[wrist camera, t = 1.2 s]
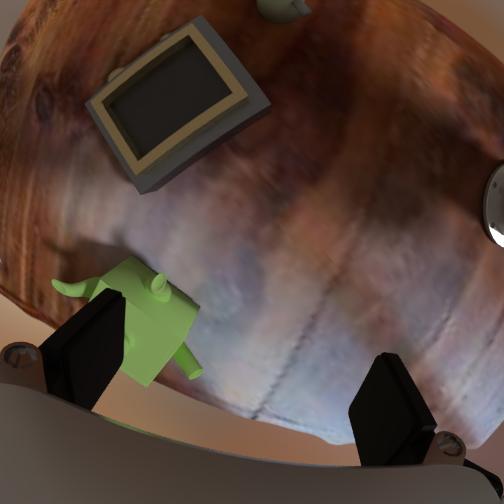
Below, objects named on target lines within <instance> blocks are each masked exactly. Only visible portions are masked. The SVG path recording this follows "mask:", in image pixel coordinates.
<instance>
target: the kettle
mask: <svg viewBox="0 0 504 504" xmlns="http://www.w3.org/2000/svg"><path fill="white" fill-rule="evenodd" d="M51 282H52V284H53V286H54V287H55V288H56V289H57V290H58V291H59V292H60V293H62V294H64V295H67V296H71V297H87V298H90V300H89V302H90V301H91V300H92V299H93V298H94V297H96V296H97V295H98V294H99V293H100V292H102V291H103V290H104V289H105V288H111V289H114V290H117V291H120V292H122V296H123V297H125V298H126V312H125V335H124V359H123V363H122V365H121V366H120V368H119V369H120V370H121V371H122V372H124V373H125V374H127V375H128V376H130V377H131V378H133V379H134V380H136V381H137V382H138V383H140V384H142V385H143V386H145V387H147V386H148V385H149V384H150V383H151V381H152V380H153V379H154V378H155V377H156V375H157V374H158V373H159V372H160V370H161V369H162V368H163V367H164V365H165V364H166V363H167V362H168V360H169V359H170V358H171V357H172V356H173V357H174V358H175V360H176V361H177V363H178V364H179V366H180V367H181V368H182V370H183V371H184V373H185V374H186V375H187V377H188V378H189V379H194V378H196V377H198V376H199V375H201V374H202V373H203V371H204V369H203V368H202V367H201V365H200V364H199V362H198V361H197V360H196V358H195V357H194V355H193V354H192V353H191V351H190V350H189V348H188V347H187V345H186V344H185V342H184V341H185V339H186V337H187V334H188V332H189V330H190V328H191V326H192V324H193V321H194V319H195V317H196V315H197V313H198V311H199V309H200V306H199V305H198V304H197V303H195V302H194V301H192V300H191V299H190V298H188V297H187V296H186V295H185V294H184V293H182V292H180V291H179V290H177V289H176V288H175V287H173V286H172V285H171V284H169V283H168V282H167V277H166V275H165V274H163V273H160V274H158V275H157V274H156V273H155V272H153V271H152V270H151V269H150V268H149V267H147V266H145V265H144V264H143V263H142V262H140V261H139V260H138V259H136V258H135V257H134V256H133V255H131V256H129V257H128V258H127V259H125V260H124V261H122V262H121V263H120V264H118V265H117V266H116V267H114V268H113V269H111V270H110V271H109V272H107V273H106V274H105V275H103V276H102V277H94V278H89V279H86V280H84V281H81V282H78V283H72V284H69V283H64V282H61V281H59V280H56V279H52V281H51ZM89 302H88V303H89Z"/></svg>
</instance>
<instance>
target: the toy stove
mask: <svg viewBox="0 0 504 504" xmlns="http://www.w3.org/2000/svg"><path fill="white" fill-rule="evenodd" d="M85 106H86V107H87V109H88V111H89V113H90V114H91V116H92V118H93V119H94V121H95V123H96V124H97V126H98V128H99V129H100V131H101V133H102V134H103V136H104V138H105V139H106V141H107V143H108V144H109V146H110V148H111V149H112V151H113V152H114V154H115V156H116V157H117V159H118V161H119V162H120V164H121V165H122V167H123V168H124V170H125V172H126V173H127V175H128V176H129V178H130V179H131V181H132V183H133V184H134V186H135V187H136V189H137V190H138V192H139V193H140V195H142V194H146V193H150V192H153V191H157V190H158V189H160V188H161V187H162V186H164V185H165V184H166V183H168V182H169V181H170V180H172V179H173V178H174V177H176V176H177V175H178V174H180V173H181V172H182V171H184V170H185V169H187V168H188V167H189V166H191V165H192V164H194V163H195V162H196V161H198V160H199V159H201V158H202V157H204V156H205V155H206V154H208V153H209V152H211V151H212V150H214V149H215V148H217V147H218V146H220V145H221V144H223V143H224V142H226V141H227V140H229V139H230V138H232V137H233V136H235V135H236V134H238V133H239V132H241V131H242V130H244V129H245V128H247V127H249V126H250V125H252V124H253V123H255V122H257V121H258V120H260V119H261V118H263V117H265V116H266V115H268V114H270V113H271V103H270V101H269V100H268V99H267V97H266V96H265V94H264V93H263V92H262V90H261V89H260V88H259V86H258V85H257V83H256V82H255V81H254V79H253V78H252V77H251V75H250V74H249V73H248V71H247V70H246V69H245V67H244V66H243V65H242V64H241V62H240V61H239V60H238V58H237V57H236V56H235V55H234V53H233V52H232V51H231V50H230V48H229V47H228V46H227V45H226V43H225V42H224V41H223V40H222V38H221V37H220V36H219V35H218V33H217V32H216V31H215V30H214V29H213V27H212V26H211V25H210V24H209V23H208V22H207V20H206V19H205V18H204V17H203V16H202V15H200V16H198V17H196V18H195V19H193V20H191V21H190V22H188V23H187V24H185V25H184V26H182V27H180V28H179V29H177V30H176V31H174V32H169V33H167V34H165V35H163V36H162V37H161V38H160V39H159V41H158V43H157V44H156V45H154V46H153V47H151V48H150V49H149V50H147V51H146V52H145V53H143V54H142V55H141V56H139V57H138V58H137V59H136V60H134V61H133V62H132V63H131V64H129V65H124V66H121V67H119V68H117V69H115V70H114V71H113V72H111V73H110V74H109V76H108V77H107V79H106V85H104V86H103V87H102V88H101V89H100V90H99V91H98V92H97V93H96V94H95V95H93V96H92V97H91V98H90V99H89V100H88V101H87V102H86V103H85Z"/></svg>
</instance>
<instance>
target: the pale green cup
mask: <svg viewBox="0 0 504 504" xmlns="http://www.w3.org/2000/svg"><path fill="white" fill-rule="evenodd" d="M304 1H305V0H257V9H258V12H259V13H260V15H261V16H262V17H263V18H265V19H266V20H268V21H270V22H273V23H281V24H282V23H289V22H292V21H294V20H296V19H297V18H298V17H299V16H300V15H302V16H303V17H306V16H308V15H310V14H311V13H312V10H311V9H310V8H309V7H308V6H307V5H306V4H305V3H304Z"/></svg>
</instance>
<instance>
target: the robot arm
mask: <svg viewBox="0 0 504 504" xmlns="http://www.w3.org/2000/svg"><path fill="white" fill-rule="evenodd" d="M483 216H484V223H485V226H486V230H487V232H488V234H489V236H490V238H491V239H492V240H493V241H494V242H495V243H496V244H497V245H499V246H501V247H503V248H504V164H501V165H500V166H499V167H497V168H496V169H495V170H494V172H493V173H492V174H491V176H490V178H489V180H488V183H487V185H486V189H485V193H484V199H483ZM125 312H126V298H125V297H123V296H122V292H120V291H117V290H114V289H111V288H105V289H104V290H103V291H102V292H100V293H99V294H98V295H97V296H96V297H94V298H93V299H92V300H91V301H90V302H89V303H87V304H86V305H85V306H84V307H83V308H82V309H80V310H79V311H78V312H77V313H76V314H75V315H73V316H72V317H71V318H70V319H69V320H68V321H67V322H65V323H64V324H63V325H62V326H61V327H60V328H59V329H57V330H56V331H55V332H54V333H53V334H52V335H51V336H50V337H49V338H48V339H46V340H45V341H44V342H43V343H42V344H41V345H40V346H39V347H38V348H37V347H36V346H34V345H33V344H30V343H27V342H14V343H11V344H8V345H7V346H5V347H4V348H3V349H2V351H1V352H0V504H504V495H502V494H503V485H502V483H501V480H500V478H499V477H498V476H496V475H494V474H493V473H491V472H489V471H487V470H485V469H483V468H481V467H480V466H478V465H476V464H474V463H472V462H471V461H469V460H467V459H465V455H466V446H465V444H464V442H463V441H462V439H460V438H459V437H458V436H457V435H455V434H454V433H451V432H448V431H440V432H438V433H436V434H435V432H434V429H435V428H436V427H437V423H436V421H435V419H434V418H433V416H432V414H431V412H430V410H429V408H428V406H427V405H426V403H425V401H424V399H423V397H422V396H421V394H420V392H419V390H418V388H417V387H416V385H415V383H414V381H413V380H412V378H411V376H410V374H409V373H408V371H407V369H406V367H405V366H404V364H403V362H402V361H401V359H400V357H399V356H398V355H397V354H393V353H387V352H383V353H382V354H381V355H378V356H377V357H376V358H375V360H374V362H373V364H372V366H371V368H370V370H369V372H368V374H367V376H366V378H365V380H364V382H363V383H362V385H361V387H360V389H359V391H358V393H357V394H356V396H355V398H354V400H353V401H352V403H351V405H350V407H349V411H348V414H349V419H350V423H351V426H352V430H353V434H354V438H355V442H356V446H357V449H358V454H359V458H360V462H361V466H335V465H317V464H304V463H293V462H285V461H277V460H268V459H262V458H256V457H249V456H243V455H238V454H233V453H228V452H223V451H218V450H213V449H209V448H205V447H200V446H196V445H192V444H188V443H184V442H181V441H177V440H173V439H170V438H166V437H162V436H159V435H156V434H153V433H150V432H146V431H144V430H141V429H137V428H135V427H132V426H129V425H126V424H124V423H121V422H118V421H115V420H112V419H110V418H107V417H105V416H102V415H99V414H97V413H95V412H92V411H91V410H92V409H93V407H94V405H95V404H96V402H97V401H98V399H99V398H100V396H101V395H102V393H103V392H104V390H105V389H106V387H107V386H108V384H109V383H110V381H111V380H112V378H113V377H114V375H115V374H116V372H117V371H118V369H119V368H120V366H121V365H122V363H123V359H124V335H125Z"/></svg>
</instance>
